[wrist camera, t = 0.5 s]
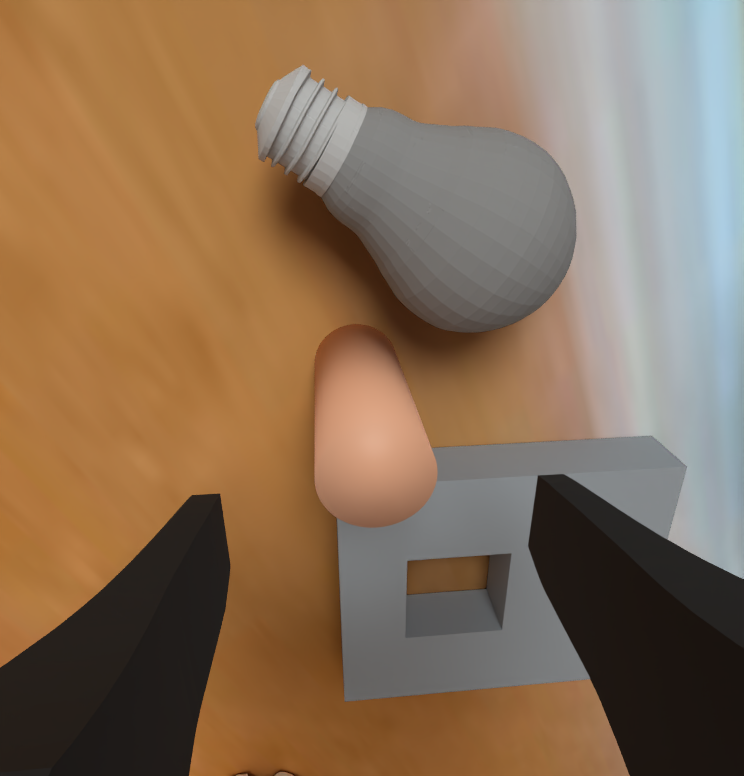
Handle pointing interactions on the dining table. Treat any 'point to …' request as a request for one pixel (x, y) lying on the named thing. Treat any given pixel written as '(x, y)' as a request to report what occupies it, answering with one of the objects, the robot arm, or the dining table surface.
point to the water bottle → (279, 775)
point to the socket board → (505, 574)
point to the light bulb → (430, 202)
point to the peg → (368, 432)
